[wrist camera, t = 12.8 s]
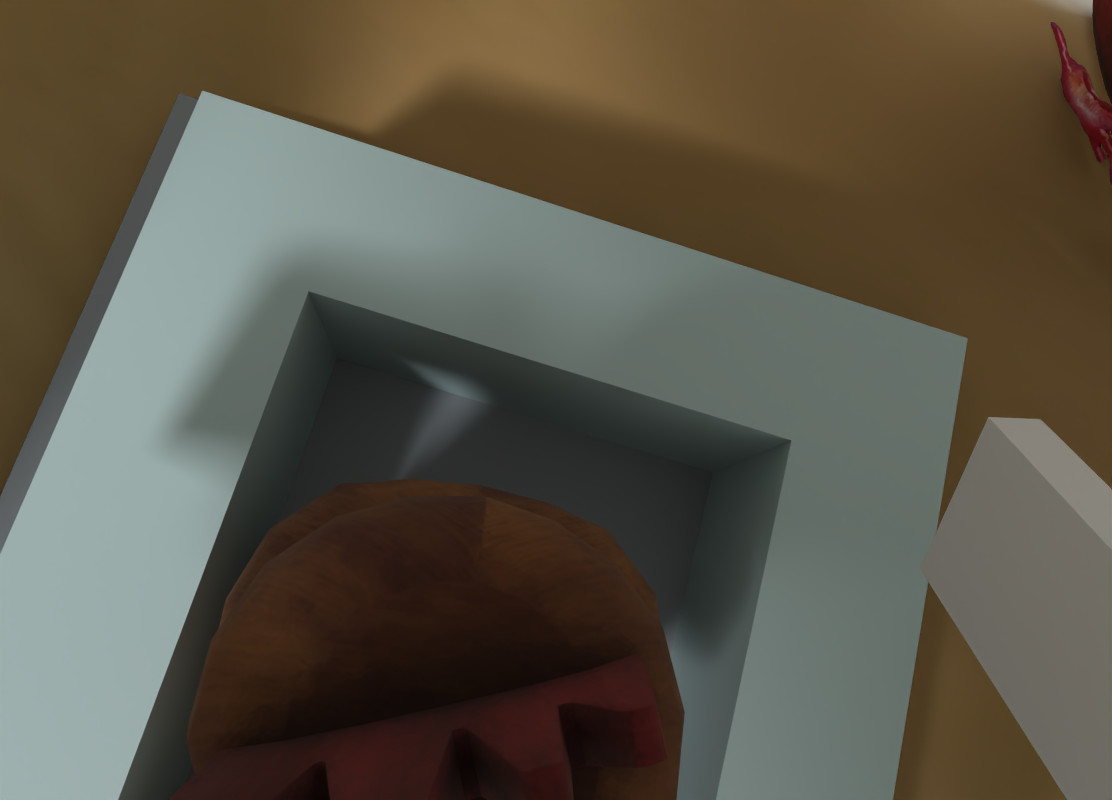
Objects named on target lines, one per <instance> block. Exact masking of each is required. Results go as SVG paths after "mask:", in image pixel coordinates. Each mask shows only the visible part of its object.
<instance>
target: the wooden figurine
mask: <svg viewBox="0 0 1112 800" xmlns="http://www.w3.org/2000/svg"><path fill="white" fill-rule="evenodd" d="M684 716H685V711H684V707H683V703H682V699H681V696H680V692H679V688H678V684H677V680H676V676H675V672H674V668H673V665H672V661H671V657H670V653H669V649H668V645H667V641H666V637H665V633H664V630H663V627H662V626H661V622H660V617H659V612H658V606H657V601H656V596H655V592H654V591H653V590H652V588H651V587H650V586H649V584H648V583H647V582H646V580H645V579H644V578H643V576H642V575H641V574H640V572H639V571H638V570H637V568H636V567H635V566H634V564H633V563H632V562H631V560H630V559H629V558H628V556H627V555H626V554H625V552H624V551H623V550H622V548H621V547H620V546H619V544H618V543H617V542H616V540H615V539H614V538H613V536H612V535H611V534H610V533H609V532H608V531H607V530H606V529H604V528H602V527H600V526H597V525H595V524H593V523H591V522H589V521H586V520H584V519H582V518H580V517H578V516H575V515H573V514H571V513H569V512H567V511H564V510H562V509H560V508H558V507H556V506H553V505H551V504H549V503H547V502H543V501H539V500H536V499H532V498H528V497H524V496H520V495H516V494H512V493H508V492H504V491H500V490H497V489H493V488H489V487H485V486H481V485H472V484H462V483H451V482H440V481H430V480H419V479H402V480H392V481H382V482H363V483H342V484H339V485H338V486H336V487H335V488H333V489H331V490H330V491H328V492H327V493H325V494H324V495H322V496H320V497H319V498H317V499H316V500H314V501H313V502H311V503H309V504H308V505H306V506H305V507H303V508H302V509H300V510H298V511H297V512H295V513H294V514H292V515H291V516H289V517H287V518H286V519H284V520H283V521H281V522H280V523H278V524H276V525H275V526H273V527H272V528H270V529H269V530H268V532H267V533H266V535H265V537H264V538H263V540H262V541H261V543H260V545H259V546H258V548H257V549H256V551H255V553H254V554H253V556H252V557H251V559H250V561H249V562H248V564H247V565H246V567H245V569H244V570H243V572H242V574H241V575H240V577H239V578H238V580H237V582H236V583H235V585H234V586H233V588H232V590H231V591H230V593H229V594H228V596H227V598H226V601H225V605H224V609H223V613H222V617H221V621H220V625H219V629H218V630H217V632H216V633H215V635H214V636H213V637H212V639H211V641H210V645H209V648H208V652H207V656H206V659H205V663H204V667H203V671H202V674H201V678H200V682H199V685H198V689H197V693H196V696H195V700H194V704H193V707H192V711H191V715H190V719H189V722H188V726H187V730H186V731H187V745H188V749H189V753H190V757H191V761H192V766H193V770H194V775H193V776H192V777H191V778H190V779H189V780H188V781H187V782H186V783H185V784H184V785H183V786H182V787H181V788H180V789H179V790H178V791H177V792H176V793H175V794H173V795H172V796H171V797H170V798H169V799H168V800H677V790H678V780H679V769H680V758H681V748H682V737H683V726H684Z"/></svg>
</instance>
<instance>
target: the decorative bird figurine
mask: <svg viewBox="0 0 1112 800" xmlns="http://www.w3.org/2000/svg"><path fill="white" fill-rule="evenodd" d="M1092 17H1093V31H1094V37H1095V44H1096V50H1097V56H1098V60H1099V65H1100V69H1101V73H1102V77H1103V81H1104V85H1105V89H1106V91H1107V94H1108V96H1109V99H1110V101H1111V103H1112V0H1093V15H1092ZM1051 26H1052V28H1053V30H1054V34H1055V37H1056V40H1057V43H1058V47H1059V51H1060V55H1061V60H1062V77H1061V82H1062V86H1063V92H1064V95H1065V98H1066V99H1067V101H1068V102H1069V103H1070V105H1071V107H1072V109H1073V110H1074V111H1075V113H1076V114H1077V115H1078V117H1079V119H1080V122H1081V125H1082V127H1083V129H1084V131H1085V132H1086V133H1087V134H1088V136H1089V139H1090V142H1091V145H1092V148H1093V151H1094V153H1095V156H1096V159H1097V160H1098V161H1099V162H1104V160H1105V159H1110V182H1111V184H1112V138H1111V137H1110V135H1111V134H1112V106H1111V105H1109V104H1108V103H1106V102H1105V101H1103V100H1101V98H1100V97H1099V96H1097V95H1096V94H1095V91H1094V89H1093V86H1092V83H1091V80H1090V77H1089V75H1088V73H1087V71H1086V69H1085V68H1084V67H1083V66H1082V65H1079V64H1077V63H1076V62H1075V60H1073V59H1072V58H1071V57H1070V56H1069V54H1068V51H1067V46H1066V41H1065V38H1064V35H1063V33H1062V31H1061V29H1060V28H1059V27H1058V26H1057V25H1056V24H1055V23H1053V22H1051ZM1110 131H1111V133H1110ZM1101 143H1102V145H1103V147H1104V150H1105V152H1106V153H1107V154H1108V155H1104V153H1103V151H1102V149H1101Z"/></svg>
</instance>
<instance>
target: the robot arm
mask: <svg viewBox="0 0 1112 800" xmlns="http://www.w3.org/2000/svg"><path fill="white" fill-rule="evenodd" d="M920 570H921V571H922V573H923V574H924V576H925V577H926V579H927V581H928V582H929V584H930V585H931V587H932V588H933V590H934V592H935V593H936V595H937V596H938V598H939V599H940V601H941V603H942V604H943V606H944V607H945V609H946V610H947V612H948V614H949V615H950V617H951V618H952V620H953V621H954V623H955V625H956V626H957V628H958V629H959V631H960V633H961V634H962V636H963V637H964V639H965V640H966V642H967V644H968V645H969V647H970V648H971V650H972V651H973V653H974V655H975V656H976V658H977V659H978V661H979V662H980V664H981V666H982V667H983V669H984V670H985V672H986V673H987V675H988V677H989V678H990V680H991V681H992V683H993V684H994V686H995V688H996V689H997V691H998V692H999V694H1000V695H1001V697H1002V699H1003V700H1004V702H1005V703H1006V705H1007V706H1008V708H1009V710H1010V711H1011V713H1012V714H1013V716H1014V717H1015V719H1016V721H1017V722H1018V724H1019V725H1020V727H1021V728H1022V730H1023V732H1024V733H1025V735H1026V736H1027V738H1028V739H1029V741H1030V743H1031V744H1032V746H1033V747H1034V749H1035V750H1036V752H1037V754H1038V755H1039V757H1040V758H1041V760H1042V761H1043V763H1044V765H1045V766H1046V768H1047V769H1048V771H1049V772H1050V774H1051V776H1052V777H1053V779H1054V780H1055V782H1056V783H1057V785H1058V787H1059V788H1060V790H1061V791H1062V793H1063V794H1064V796H1065V798H1066V799H1067V800H1112V489H1111V488H1110V487H1109V486H1108V485H1107V484H1106V483H1105V482H1104V481H1103V480H1102V479H1101V478H1100V477H1099V476H1098V475H1097V474H1096V473H1095V472H1094V471H1093V470H1092V469H1091V468H1090V467H1089V466H1088V465H1087V464H1086V463H1085V462H1084V461H1083V460H1082V459H1081V458H1080V457H1079V456H1078V455H1077V454H1076V453H1074V452H1073V451H1072V450H1071V449H1070V448H1069V447H1068V446H1067V445H1066V444H1065V443H1064V442H1063V441H1062V440H1061V439H1060V438H1059V437H1058V436H1057V435H1056V434H1055V433H1054V432H1053V431H1052V430H1051V429H1050V428H1049V427H1048V426H1047V425H1046V424H1045V423H1044V422H1043V421H1042V420H1041V419H1024V418H1000V417H988V419H987V421H986V423H985V426H984V428H983V430H982V432H981V434H980V437H979V439H978V441H977V443H976V445H975V448H974V450H973V452H972V454H971V456H970V459H969V461H968V463H967V465H966V468H965V470H964V472H963V474H962V476H961V479H960V481H959V483H958V485H957V487H956V490H955V492H954V494H953V496H952V498H951V501H950V503H949V505H948V507H947V510H946V512H945V514H944V516H943V518H942V521H941V523H940V525H939V527H938V529H937V532H936V534H935V536H934V538H933V540H932V543H931V545H930V547H929V549H928V552H927V554H926V556H925V558H924V560H923V563H922V565H921V567H920Z"/></svg>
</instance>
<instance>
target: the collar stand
mask: <svg viewBox="0 0 1112 800" xmlns="http://www.w3.org/2000/svg"><path fill="white" fill-rule="evenodd" d="M967 340H968V338H965V337H962V336H959V335H956V334H953V333H950V332H947V331H944V330H941V329H938V328H934V327H931V326H928V325H925V324H922V323H919V322H916V321H913V320H910V319H907V318H904V317H900V316H897V315H894V314H891V313H888V312H885V311H882V310H879V309H876V308H873V307H870V306H866V305H863V304H860V303H857V302H854V301H851V300H848V299H845V298H842V297H839V296H836V295H832V294H829V293H826V292H823V291H820V290H817V289H814V288H811V287H808V286H805V285H802V284H798V283H795V282H792V281H789V280H786V279H783V278H780V277H777V276H774V275H771V274H768V273H764V272H761V271H758V270H755V269H752V268H749V267H746V266H743V265H740V264H737V263H734V262H730V261H727V260H724V259H721V258H718V257H715V256H712V255H709V254H706V253H703V252H700V251H696V250H693V249H690V248H687V247H684V246H681V245H678V244H675V243H672V242H669V241H666V240H662V239H659V238H656V237H653V236H650V235H647V234H644V233H641V232H638V231H635V230H632V229H628V228H625V227H622V226H619V225H616V224H613V223H610V222H607V221H604V220H601V219H598V218H594V217H591V216H588V215H585V214H582V213H579V212H576V211H573V210H570V209H567V208H564V207H560V206H557V205H554V204H551V203H548V202H545V201H542V200H539V199H536V198H533V197H530V196H526V195H523V194H520V193H517V192H514V191H511V190H508V189H505V188H502V187H499V186H496V185H492V184H489V183H486V182H483V181H480V180H477V179H474V178H471V177H468V176H465V175H462V174H458V173H455V172H452V171H449V170H446V169H443V168H440V167H437V166H434V165H431V164H428V163H424V162H421V161H418V160H415V159H412V158H409V157H406V156H403V155H400V154H397V153H394V152H390V151H387V150H384V149H381V148H378V147H375V146H372V145H369V144H366V143H363V142H360V141H356V140H353V139H350V138H347V137H344V136H341V135H338V134H335V133H332V132H329V131H326V130H322V129H319V128H316V127H313V126H310V125H307V124H304V123H301V122H298V121H295V120H292V119H288V118H285V117H282V116H279V115H276V114H273V113H270V112H267V111H264V110H261V109H258V108H254V107H251V106H248V105H245V104H242V103H239V102H236V101H233V100H230V99H227V98H224V97H220V96H217V95H214V94H211V93H208V92H205V91H202V92H201V95H200V97H199V99H196V98H193V97H190V96H187V95H184V94H181V93H179V94H178V97H177V99H176V101H175V103H174V106H173V108H172V110H171V112H170V115H169V117H168V119H167V121H166V124H165V126H164V128H163V130H162V133H161V135H160V137H159V139H158V142H157V144H156V146H155V148H154V151H153V153H152V155H151V157H150V160H149V162H148V164H147V167H146V169H145V171H144V173H143V176H142V178H141V180H140V182H139V185H138V187H137V189H136V191H135V194H134V196H133V198H132V200H131V203H130V205H129V207H128V209H127V212H126V214H125V216H124V218H123V221H122V223H121V225H120V227H119V230H118V232H117V234H116V236H115V239H114V241H113V243H112V245H111V248H110V250H109V252H108V254H107V257H106V259H105V261H104V263H103V266H102V268H101V270H100V272H99V275H98V277H97V279H96V282H95V284H94V286H93V288H92V291H91V293H90V295H89V297H88V300H87V302H86V304H85V306H84V309H83V311H82V313H81V315H80V318H79V320H78V322H77V324H76V327H75V329H74V331H73V333H72V336H71V338H70V340H69V342H68V345H67V347H66V349H65V351H64V354H63V356H62V358H61V360H60V363H59V365H58V367H57V369H56V372H55V374H54V376H53V378H52V381H51V383H50V385H49V387H48V390H47V392H46V394H45V397H44V399H43V401H42V403H41V406H40V408H39V410H38V412H37V415H36V417H35V419H34V421H33V424H32V426H31V428H30V430H29V433H28V435H27V437H26V439H25V442H24V444H23V446H22V448H21V451H20V453H19V455H18V457H17V460H16V462H15V464H14V466H13V469H12V471H11V473H10V475H9V478H8V480H7V482H6V484H5V487H4V489H3V491H2V493H1V496H0V800H168V799H169V798H170V797H171V796H172V795H173V794H175V793H176V792H177V791H178V790H179V789H180V788H181V787H182V786H183V785H184V784H185V783H186V782H187V781H188V780H189V779H190V778H191V777H192V776H193V775H194V770H193V766H192V761H191V757H190V753H189V749H188V745H187V731H186V730H187V726H188V722H189V719H190V715H191V711H192V707H193V704H194V700H195V696H196V693H197V689H198V685H199V682H200V678H201V674H202V671H203V667H204V663H205V659H206V656H207V652H208V648H209V645H210V641H211V639H212V637H213V636H214V635H215V633H216V632H217V630H218V629H219V625H220V621H221V617H222V613H223V609H224V605H225V601H226V598H227V596H228V594H229V593H230V591H231V590H232V588H233V586H234V585H235V583H236V582H237V580H238V578H239V577H240V575H241V574H242V572H243V570H244V569H245V567H246V565H247V564H248V562H249V561H250V559H251V557H252V556H253V554H254V553H255V551H256V549H257V548H258V546H259V545H260V543H261V541H262V540H263V538H264V537H265V535H266V533H267V532H268V530H269V529H270V528H272V527H273V526H275V525H276V524H278V523H280V522H281V521H283V520H284V519H286V518H287V517H289V516H291V515H292V514H294V513H295V512H297V511H298V510H300V509H302V508H303V507H305V506H306V505H308V504H309V503H311V502H313V501H314V500H316V499H317V498H319V497H320V496H322V495H324V494H325V493H327V492H328V491H330V490H331V489H333V488H335V487H336V486H338V485H339V484H342V483H363V482H382V481H392V480H402V479H419V480H430V481H440V482H451V483H462V484H472V485H481V486H485V487H489V488H493V489H497V490H500V491H504V492H508V493H512V494H516V495H520V496H524V497H528V498H532V499H536V500H539V501H543V502H547V503H549V504H551V505H553V506H556V507H558V508H560V509H562V510H564V511H567V512H569V513H571V514H573V515H575V516H578V517H580V518H582V519H584V520H586V521H589V522H591V523H593V524H595V525H597V526H600V527H602V528H604V529H606V530H607V531H608V532H609V533H610V534H611V535H612V536H613V538H614V539H615V540H616V542H617V543H618V544H619V546H620V547H621V548H622V550H623V551H624V552H625V554H626V555H627V556H628V558H629V559H630V560H631V562H632V563H633V564H634V566H635V567H636V568H637V570H638V571H639V572H640V574H641V575H642V576H643V578H644V579H645V580H646V582H647V583H648V584H649V586H650V587H651V588H652V590H653V591H654V592H655V596H656V601H657V606H658V612H659V617H660V622H661V626H662V627H663V630H664V633H665V637H666V641H667V645H668V649H669V653H670V657H671V661H672V665H673V668H674V672H675V676H676V680H677V684H678V688H679V692H680V696H681V699H682V703H683V707H684V711H685V716H684V726H683V737H682V748H681V758H680V769H679V780H678V790H677V800H893V796H894V790H895V784H896V777H897V771H898V765H899V759H900V753H901V747H902V740H903V734H904V728H905V722H906V716H907V710H908V704H909V697H910V691H911V685H912V679H913V673H914V667H915V660H916V654H917V648H918V642H919V636H920V630H921V623H922V617H923V611H924V605H925V599H926V593H927V587H928V581H927V579H926V577H925V576H924V574H923V573H922V571H921V570H920V567H921V565H922V563H923V560H924V558H925V556H926V554H927V552H928V549H929V547H930V545H931V543H932V540H933V538H934V536H935V534H936V531H937V525H938V519H939V513H940V506H941V500H942V494H943V488H944V482H945V476H946V470H947V463H948V457H949V451H950V445H951V439H952V433H953V426H954V420H955V414H956V408H957V402H958V396H959V389H960V383H961V377H962V371H963V365H964V359H965V353H966V346H967Z"/></svg>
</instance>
